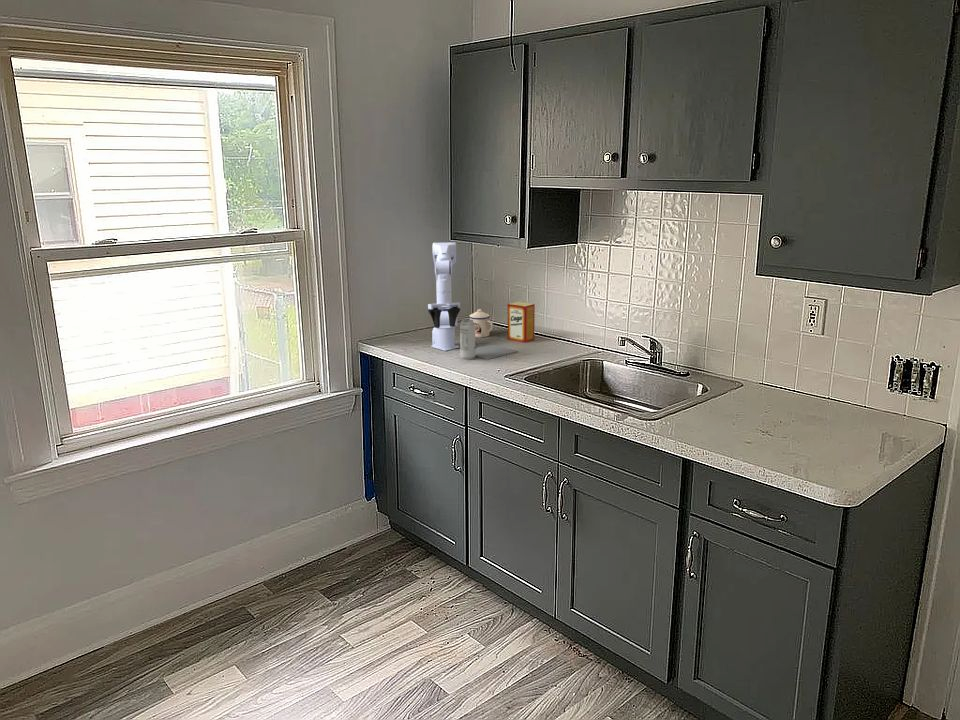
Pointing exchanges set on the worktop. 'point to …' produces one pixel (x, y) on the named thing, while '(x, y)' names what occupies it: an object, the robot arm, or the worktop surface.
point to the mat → (493, 351)
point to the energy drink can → (467, 339)
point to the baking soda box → (521, 321)
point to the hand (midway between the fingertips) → (444, 327)
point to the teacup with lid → (481, 323)
